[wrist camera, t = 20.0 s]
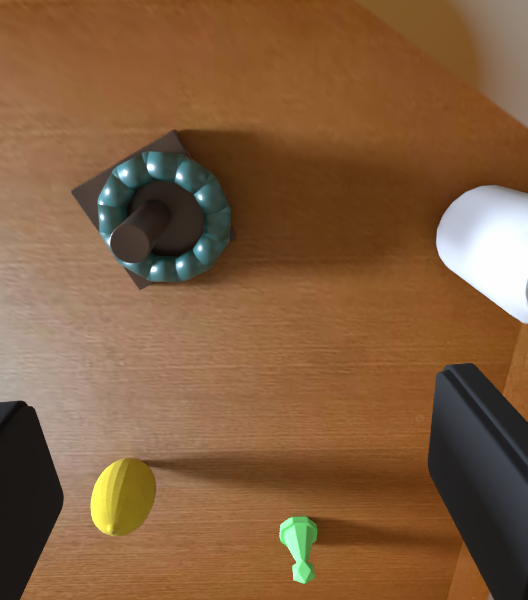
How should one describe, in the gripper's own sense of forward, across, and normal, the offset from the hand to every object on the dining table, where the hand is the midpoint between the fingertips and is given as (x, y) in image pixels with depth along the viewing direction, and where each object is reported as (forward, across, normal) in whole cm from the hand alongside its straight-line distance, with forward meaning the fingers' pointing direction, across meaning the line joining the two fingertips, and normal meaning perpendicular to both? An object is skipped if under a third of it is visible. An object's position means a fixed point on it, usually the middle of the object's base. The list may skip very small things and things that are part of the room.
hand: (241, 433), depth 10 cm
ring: (+24, +6, 0) cm, 25 cm away
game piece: (+26, -3, +36) cm, 45 cm away
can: (+26, -19, +3) cm, 33 cm away
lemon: (+26, +13, +24) cm, 38 cm away
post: (+26, +7, 0) cm, 27 cm away
